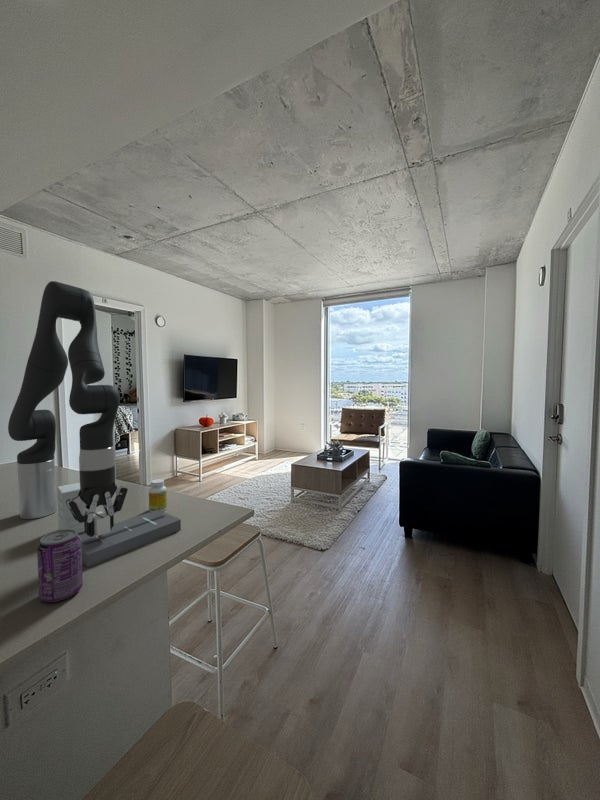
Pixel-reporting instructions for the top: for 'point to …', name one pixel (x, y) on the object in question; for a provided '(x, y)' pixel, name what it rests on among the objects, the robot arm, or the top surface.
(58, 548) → the beverage can
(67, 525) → the supplement box
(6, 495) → the top surface
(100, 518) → the fader knob
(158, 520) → the console
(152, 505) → the supplement bottle
